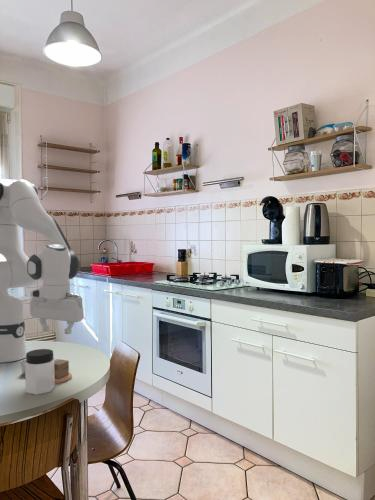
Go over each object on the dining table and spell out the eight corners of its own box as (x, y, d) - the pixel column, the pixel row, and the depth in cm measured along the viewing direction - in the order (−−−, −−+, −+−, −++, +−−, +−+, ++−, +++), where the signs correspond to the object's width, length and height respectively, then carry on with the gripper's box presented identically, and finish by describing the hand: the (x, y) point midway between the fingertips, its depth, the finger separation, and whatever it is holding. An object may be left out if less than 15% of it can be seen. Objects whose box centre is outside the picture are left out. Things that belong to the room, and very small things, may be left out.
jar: (49, 394, 126) (48, 356, 126) (22, 395, 126) (21, 356, 126) (57, 384, 135) (56, 348, 135) (32, 384, 135) (31, 348, 134)
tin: (18, 375, 144) (18, 362, 144) (28, 371, 149) (28, 358, 148) (29, 377, 142) (28, 364, 142) (38, 372, 147) (38, 360, 147)
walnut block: (47, 377, 139) (47, 363, 139) (57, 373, 144) (56, 359, 144) (59, 379, 137) (58, 364, 137) (68, 374, 142) (68, 360, 142)
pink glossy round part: (38, 381, 138) (38, 378, 138) (56, 372, 146) (56, 370, 146) (60, 384, 135) (60, 382, 135) (77, 375, 143) (77, 373, 143)
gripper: (87, 293, 139) (87, 333, 139) (39, 288, 146) (39, 327, 147) (75, 295, 133) (76, 337, 134) (26, 291, 140) (27, 331, 141)
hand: (56, 332), depth 140 cm, fingers open, 8 cm apart
